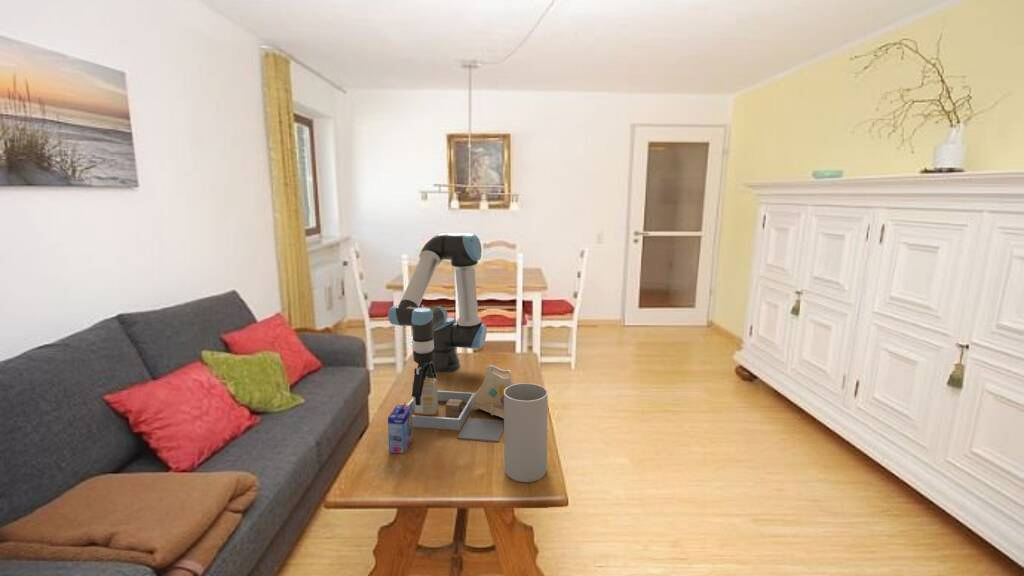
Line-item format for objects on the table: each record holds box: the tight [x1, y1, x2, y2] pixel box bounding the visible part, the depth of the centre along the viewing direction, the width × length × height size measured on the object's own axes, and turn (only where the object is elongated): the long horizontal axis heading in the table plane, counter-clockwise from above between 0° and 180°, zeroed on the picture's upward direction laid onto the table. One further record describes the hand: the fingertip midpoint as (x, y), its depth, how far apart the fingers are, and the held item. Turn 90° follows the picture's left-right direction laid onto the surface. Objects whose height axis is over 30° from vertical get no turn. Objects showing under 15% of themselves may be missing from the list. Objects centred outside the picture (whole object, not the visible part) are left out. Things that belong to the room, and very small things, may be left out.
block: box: [445, 399, 464, 418], centre depth 173 cm, size 5×5×5 cm
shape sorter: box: [472, 364, 514, 419], centre depth 172 cm, size 20×10×18 cm, turn 47°
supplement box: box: [412, 377, 439, 416], centre depth 173 cm, size 8×5×13 cm, turn 84°
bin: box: [406, 390, 476, 431], centre depth 174 cm, size 23×23×4 cm
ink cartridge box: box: [387, 402, 413, 454], centre depth 150 cm, size 10×6×14 cm, turn 177°
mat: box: [457, 417, 504, 443], centre depth 161 cm, size 14×14×1 cm
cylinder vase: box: [503, 382, 549, 483], centre depth 135 cm, size 12×12×25 cm
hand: (425, 404), depth 174 cm, fingers open, 13 cm apart
